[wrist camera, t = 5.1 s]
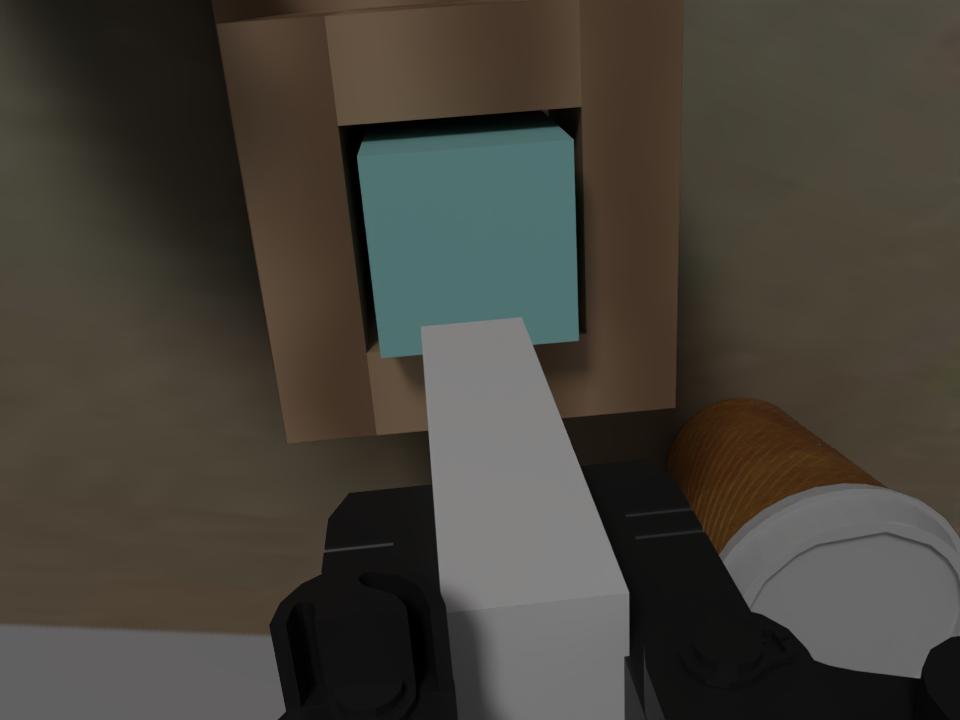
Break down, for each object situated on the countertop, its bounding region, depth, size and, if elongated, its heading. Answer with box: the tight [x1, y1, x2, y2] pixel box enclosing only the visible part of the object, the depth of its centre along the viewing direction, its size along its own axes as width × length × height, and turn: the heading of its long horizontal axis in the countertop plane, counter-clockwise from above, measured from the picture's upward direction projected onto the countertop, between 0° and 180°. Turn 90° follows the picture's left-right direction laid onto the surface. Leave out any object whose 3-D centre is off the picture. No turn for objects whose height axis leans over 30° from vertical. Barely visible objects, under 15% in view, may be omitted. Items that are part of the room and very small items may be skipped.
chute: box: [211, 0, 684, 443], centre depth 29 cm, size 16×16×13 cm
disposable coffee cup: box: [667, 399, 960, 678], centre depth 36 cm, size 10×10×12 cm
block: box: [357, 110, 579, 358], centre depth 27 cm, size 5×5×12 cm
